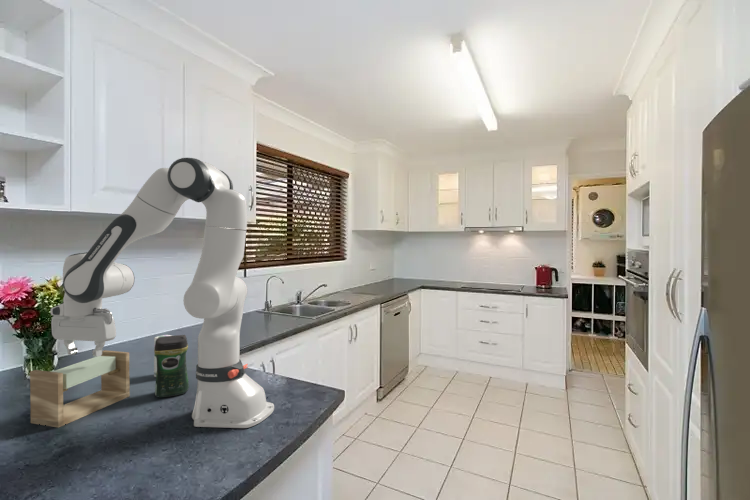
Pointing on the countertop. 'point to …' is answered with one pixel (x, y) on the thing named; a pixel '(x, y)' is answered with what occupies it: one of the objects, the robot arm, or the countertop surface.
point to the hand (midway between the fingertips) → (84, 355)
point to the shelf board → (86, 370)
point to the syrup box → (155, 355)
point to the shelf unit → (50, 399)
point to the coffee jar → (171, 366)
